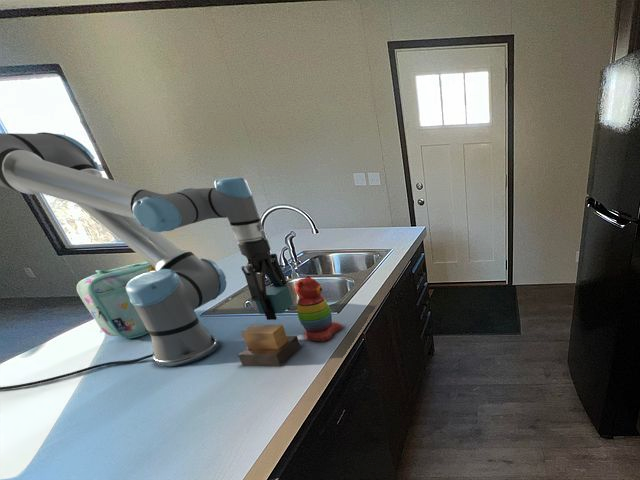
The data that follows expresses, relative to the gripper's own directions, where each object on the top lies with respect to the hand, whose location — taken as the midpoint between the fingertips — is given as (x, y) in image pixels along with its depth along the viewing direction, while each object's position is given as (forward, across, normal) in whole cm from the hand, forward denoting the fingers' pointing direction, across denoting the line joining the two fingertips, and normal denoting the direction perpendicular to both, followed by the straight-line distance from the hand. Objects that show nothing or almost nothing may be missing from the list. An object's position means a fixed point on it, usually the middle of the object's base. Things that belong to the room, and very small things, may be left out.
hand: (278, 314), depth 117 cm
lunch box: (+6, +4, +49) cm, 50 cm away
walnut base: (+6, -15, -5) cm, 17 cm away
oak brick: (+3, -15, -5) cm, 16 cm away
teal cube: (-2, 0, 0) cm, 2 cm away
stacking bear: (+7, -1, -13) cm, 14 cm away
